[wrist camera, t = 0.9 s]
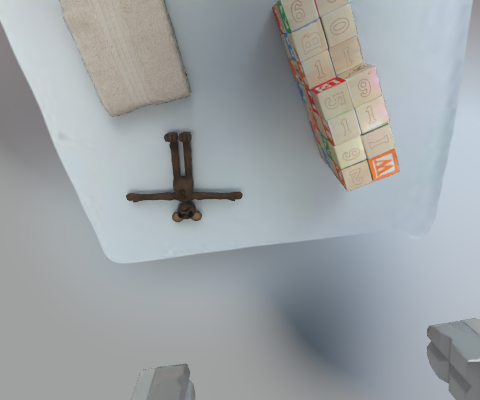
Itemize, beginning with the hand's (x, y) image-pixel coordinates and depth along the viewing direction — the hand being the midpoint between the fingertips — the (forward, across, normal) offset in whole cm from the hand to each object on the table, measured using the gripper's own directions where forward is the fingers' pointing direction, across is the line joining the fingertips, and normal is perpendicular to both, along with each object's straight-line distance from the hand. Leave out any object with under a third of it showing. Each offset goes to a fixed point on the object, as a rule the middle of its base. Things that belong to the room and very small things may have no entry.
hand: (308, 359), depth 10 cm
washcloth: (+36, +12, -19) cm, 42 cm away
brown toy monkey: (+39, +10, 0) cm, 40 cm away
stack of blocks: (+36, -11, -10) cm, 39 cm away
